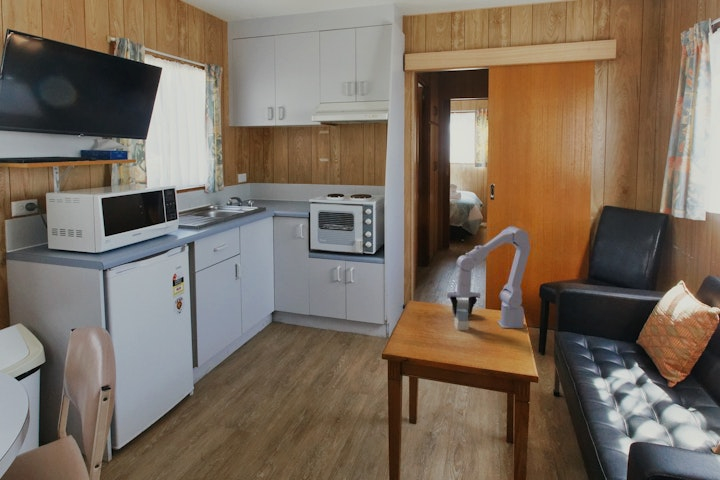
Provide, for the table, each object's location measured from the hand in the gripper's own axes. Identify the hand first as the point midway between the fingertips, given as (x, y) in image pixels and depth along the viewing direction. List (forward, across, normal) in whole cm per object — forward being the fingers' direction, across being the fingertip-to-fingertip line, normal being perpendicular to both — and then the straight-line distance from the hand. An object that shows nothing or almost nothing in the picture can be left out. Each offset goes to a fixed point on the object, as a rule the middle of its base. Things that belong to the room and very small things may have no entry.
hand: (462, 313), depth 222 cm
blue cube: (+3, 0, 0) cm, 3 cm away
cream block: (+7, 0, 0) cm, 7 cm away
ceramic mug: (+7, -4, -18) cm, 19 cm away
